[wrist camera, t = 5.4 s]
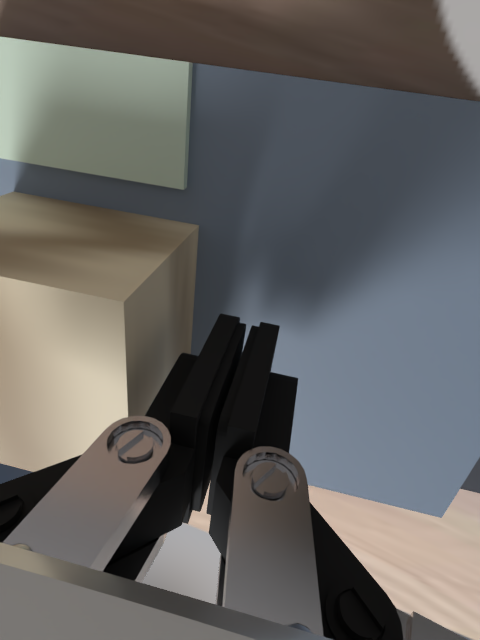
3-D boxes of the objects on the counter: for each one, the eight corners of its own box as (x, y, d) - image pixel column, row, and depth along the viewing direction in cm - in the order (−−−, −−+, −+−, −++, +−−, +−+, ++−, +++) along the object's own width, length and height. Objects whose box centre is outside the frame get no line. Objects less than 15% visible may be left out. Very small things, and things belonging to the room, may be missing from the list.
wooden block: (198, 225, 12) (123, 302, 8) (188, 381, 15) (131, 498, 11) (14, 191, 13) (-149, 245, 8) (40, 348, 16) (-69, 444, 11)
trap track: (908, 160, 10) (1052, 179, 8) (583, 512, 17) (615, 567, 15) (-182, 12, 13) (-273, -1, 11) (-64, 358, 20) (-106, 387, 18)
